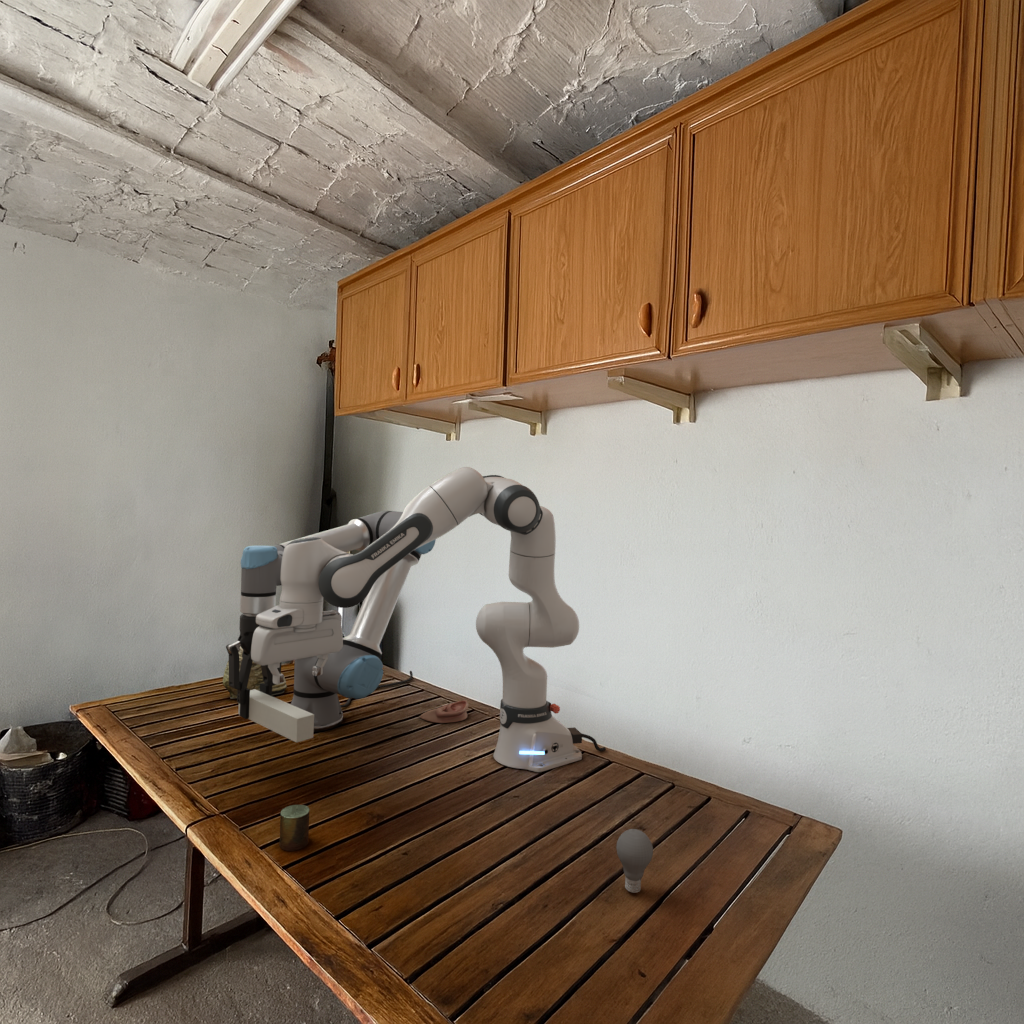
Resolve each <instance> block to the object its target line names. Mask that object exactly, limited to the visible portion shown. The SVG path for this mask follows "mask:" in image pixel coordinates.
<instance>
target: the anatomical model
mask: <svg viewBox="0 0 1024 1024" xmlns="http://www.w3.org/2000/svg"><path fill="white" fill-rule="evenodd" d="M468 708H469V702H468V700H465V699H462V700H459V701H458V700H457V701H454V702H451V703H448V704H446V705H443V706H439V707H436V708H433V709H430V710H427V711H425V712H423V713H421V714H420V715H419V718H420V719H421V720H425V721H427V722H431V723H436V724H445V723H447V724H449V723H457V722H461V721H464V720H466V719H467V718H468V712H467V711H468Z"/></svg>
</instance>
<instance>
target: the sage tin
mask: <svg viewBox="0 0 1024 1024" xmlns="http://www.w3.org/2000/svg"><path fill="white" fill-rule="evenodd" d="M279 819H280V820H279V842H278V843H279V846H278V847H279V848H280V849H281V850H283V851H286V852H295V851H300V850H302V849H305V848H306V847H307V845H308V844H309V837H310V836H309V833H310V807H309V806H307V805H305V804H292V805H289V806H288V805H287V806H285V807H284V808H282V809H281V811H280V817H279Z"/></svg>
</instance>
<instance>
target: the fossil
mask: <svg viewBox="0 0 1024 1024" xmlns="http://www.w3.org/2000/svg"><path fill="white" fill-rule="evenodd" d="M238 653H239V672H240V667H241V663H242V653H243V649H242V648H241V646H240V651H239V652H238ZM281 674H283V673H282V672H281ZM222 676H223V677H222V685H223V687H224V688H225V690H226V691H228V693H229V698H230V699H237V689H234V688H232V687H230V686H229V659H228V660H227V663H226V666H225V668H224V671H223V675H222ZM283 680H284V682H283V683H280V684H274V685H272V696H275V695H281V694H284V693H285V691H286V689H287V687H288V686H287V680H286V678H285V676H284V679H283ZM260 683H264V681H263V676H262V670H261V665H259V664H256V663H254V662H252V667H251V671H250V676H249V680H248V685H247V689H250V690H254V689H256V690H258V691H260Z"/></svg>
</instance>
